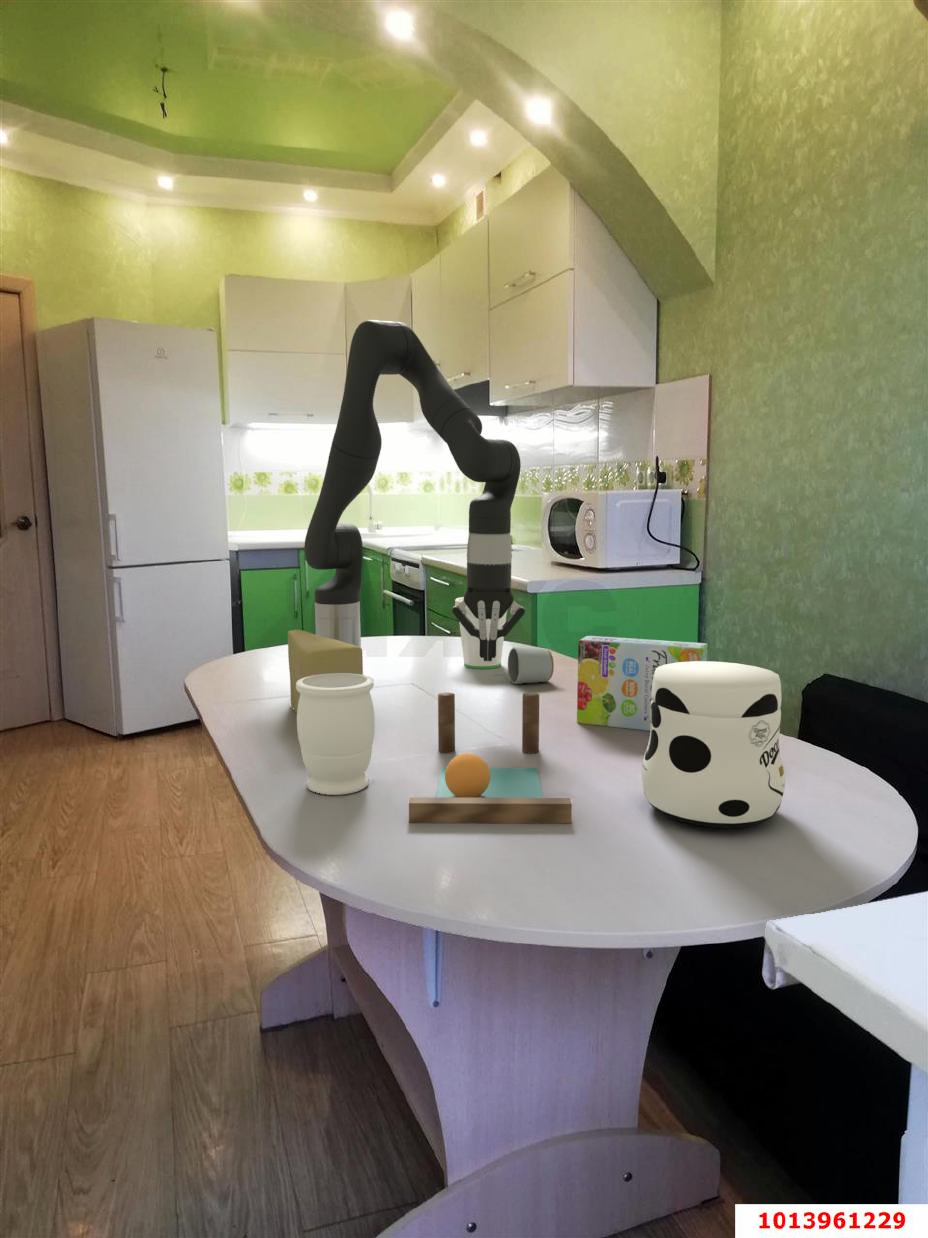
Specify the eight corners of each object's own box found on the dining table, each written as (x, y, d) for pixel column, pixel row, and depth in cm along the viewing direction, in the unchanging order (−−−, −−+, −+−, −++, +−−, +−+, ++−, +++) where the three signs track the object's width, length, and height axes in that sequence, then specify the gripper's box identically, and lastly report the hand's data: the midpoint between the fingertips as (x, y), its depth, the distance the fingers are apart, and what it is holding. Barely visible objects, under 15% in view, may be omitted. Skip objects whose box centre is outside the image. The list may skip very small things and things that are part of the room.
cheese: (269, 710, 160) (265, 630, 158) (318, 703, 165) (316, 625, 163) (311, 740, 141) (308, 650, 139) (366, 731, 146) (364, 644, 144)
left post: (438, 753, 134) (437, 696, 132) (438, 748, 136) (438, 692, 135) (454, 753, 134) (454, 696, 132) (455, 748, 136) (454, 692, 135)
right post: (522, 753, 133) (522, 696, 132) (521, 748, 136) (522, 692, 135) (539, 753, 133) (539, 696, 132) (538, 748, 136) (538, 692, 135)
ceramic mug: (555, 685, 179) (556, 648, 178) (518, 687, 176) (518, 650, 175) (537, 675, 189) (537, 640, 188) (501, 677, 186) (501, 642, 185)
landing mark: (435, 804, 112) (435, 803, 112) (441, 769, 126) (441, 768, 126) (543, 805, 112) (543, 803, 112) (536, 769, 126) (536, 768, 126)
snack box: (705, 729, 146) (708, 642, 144) (699, 738, 141) (703, 648, 139) (584, 716, 155) (586, 633, 153) (575, 724, 150) (576, 638, 148)
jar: (388, 778, 123) (386, 674, 120) (355, 803, 113) (353, 691, 111) (321, 770, 126) (318, 669, 124) (284, 794, 116) (280, 685, 114)
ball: (442, 804, 112) (443, 759, 111) (446, 789, 118) (447, 747, 117) (488, 807, 111) (490, 761, 111) (490, 792, 117) (491, 749, 117)
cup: (447, 668, 195) (446, 601, 192) (467, 658, 206) (467, 594, 204) (498, 672, 190) (498, 604, 188) (516, 662, 201) (517, 597, 199)
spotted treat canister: (813, 830, 104) (822, 684, 101) (685, 847, 99) (691, 694, 96) (730, 782, 120) (736, 656, 117) (617, 795, 115) (620, 664, 112)
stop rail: (409, 822, 106) (408, 803, 106) (410, 816, 108) (410, 797, 108) (571, 823, 106) (571, 803, 106) (569, 817, 108) (570, 798, 108)
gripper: (449, 561, 142) (448, 664, 145) (529, 562, 141) (527, 665, 144) (450, 557, 149) (450, 655, 152) (527, 558, 149) (525, 656, 152)
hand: (487, 660), depth 148 cm, fingers closed
